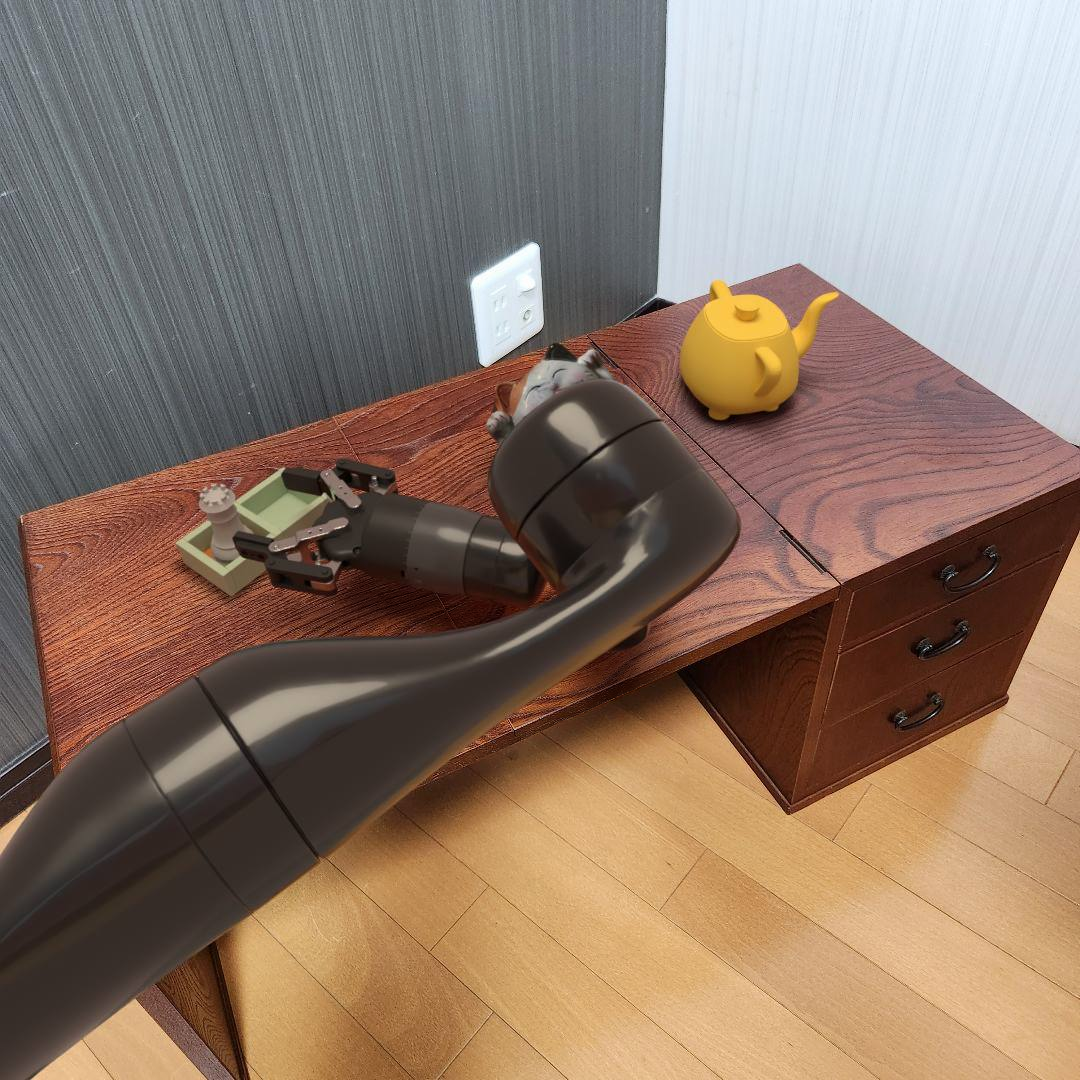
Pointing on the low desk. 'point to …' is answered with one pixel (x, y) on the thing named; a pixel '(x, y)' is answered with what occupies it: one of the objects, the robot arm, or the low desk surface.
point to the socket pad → (265, 515)
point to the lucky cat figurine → (541, 386)
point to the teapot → (745, 352)
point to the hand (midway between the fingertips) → (261, 508)
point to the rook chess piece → (222, 522)
